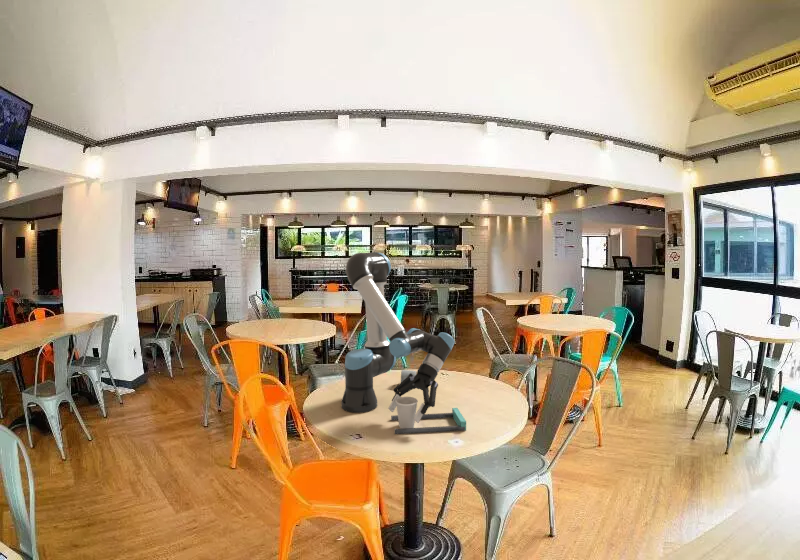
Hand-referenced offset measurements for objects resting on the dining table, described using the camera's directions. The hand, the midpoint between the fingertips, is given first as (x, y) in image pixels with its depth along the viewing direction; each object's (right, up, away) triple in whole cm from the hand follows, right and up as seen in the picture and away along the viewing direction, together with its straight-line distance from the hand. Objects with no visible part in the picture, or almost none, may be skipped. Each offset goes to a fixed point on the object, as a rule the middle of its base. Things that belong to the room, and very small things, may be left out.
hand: (402, 415), depth 164 cm
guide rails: (+9, -5, +3) cm, 11 cm away
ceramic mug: (+3, -1, +50) cm, 50 cm away
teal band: (+22, -4, +5) cm, 23 cm away
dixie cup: (+1, -5, +2) cm, 5 cm away
